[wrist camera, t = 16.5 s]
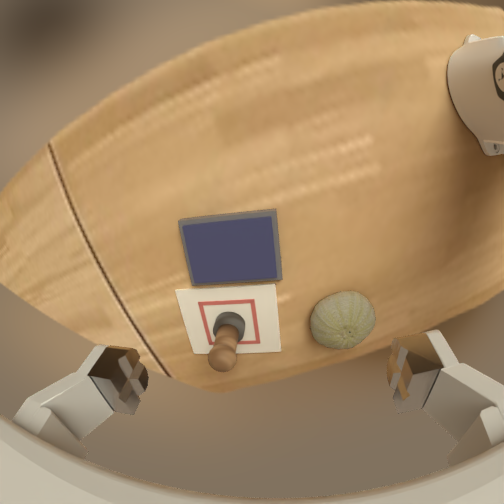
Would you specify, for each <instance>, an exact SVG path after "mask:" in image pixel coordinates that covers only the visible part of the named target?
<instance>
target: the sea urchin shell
mask: <svg viewBox="0 0 504 504" xmlns="http://www.w3.org/2000/svg"><path fill="white" fill-rule="evenodd" d="M310 320H311V326H310V329H311V331H312V334H313V337H314V339H315V340H316V341H317V342H318V343H319V344H322V345H324V346H326V347H327V348H328V347H329V348H335V349H349V348H353V347H354V346H355V345H357V344H359V343H360V342H362V340H363V339H365V338H366V337H367V336H368V335H369V334H370V332H371V331H372V330H373V328H374V326H375V321H376V317H375V312H374V308H373V306H372V305H371V304H370V303H369V301H368V299H367V298H366V297H364V296H363V295H361V294H360V293H358V292H355V291H343V292H341V291H340V292H338V293H336V294H333V295H330V296H328V297H326V298H325V299H323V300H321V301H319V303H318V304H317V305H315V308H314V310H313V313H312V315H311V319H310Z"/></svg>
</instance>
